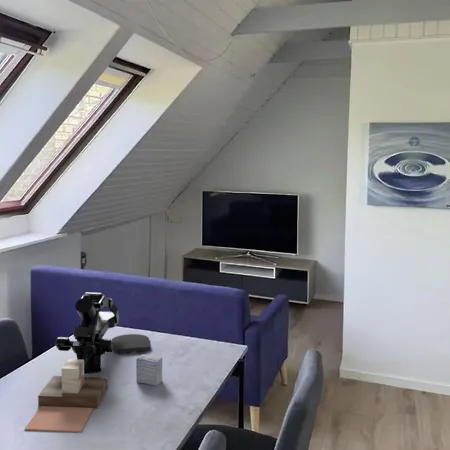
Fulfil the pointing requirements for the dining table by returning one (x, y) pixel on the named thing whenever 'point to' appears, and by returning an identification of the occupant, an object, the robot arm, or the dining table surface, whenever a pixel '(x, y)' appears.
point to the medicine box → (149, 369)
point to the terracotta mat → (59, 419)
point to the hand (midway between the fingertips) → (79, 369)
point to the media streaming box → (131, 344)
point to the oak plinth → (84, 398)
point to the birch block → (72, 376)
